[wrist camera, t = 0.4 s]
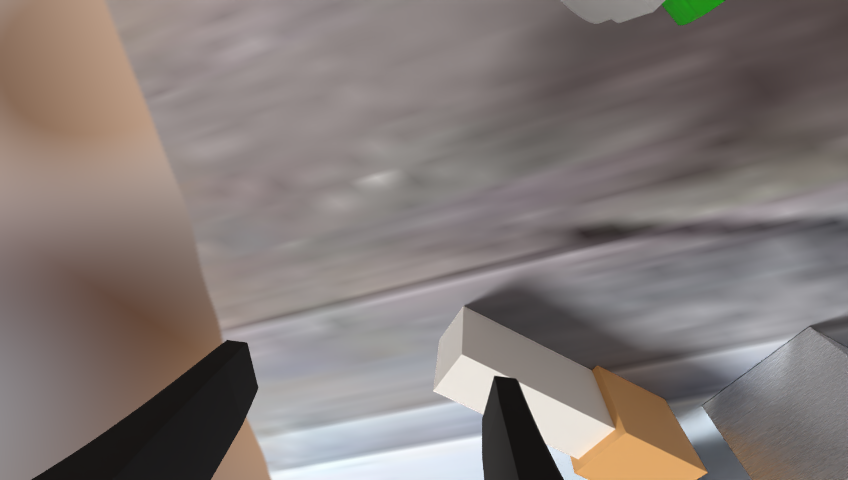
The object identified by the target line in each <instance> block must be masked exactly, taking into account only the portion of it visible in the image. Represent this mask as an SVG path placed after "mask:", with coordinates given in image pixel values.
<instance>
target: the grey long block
mask: <svg viewBox="0 0 848 480" xmlns="http://www.w3.org/2000/svg"><path fill="white" fill-rule="evenodd" d="M702 407H703V409H704V410H705V411H706V413H707V414H708V416H709V417H710V419H711V420H712V422H713V423H714V425H715V426H716V428H717V429H718V431H719V432H720V433H721V435H722V436H723V438H724V439H725V441H726V442H727V444H728V445H729V447H730V448H731V450H732V451H733V452H734V454H735V455H736V457H737V458H738V460H739V461H740V463H741V464H742V466H743V467H744V469H745V470H746V472H747V473H748V474H749V476H750V477H751V479H752V480H848V348H847V347H845V346H843V345H841V344H840V343H838V342H836V341H834V340H832V339H831V338H829V337H827V336H825V335H823V334H822V333H820V332H818V331H816V330H814V329H813V328H811V327H808V328H807V329H806V330H804V331H803V332H801V333H800V334H799V335H797V336H796V337H795V338H793V339H792V340H791V341H789V342H788V343H787V344H785V345H784V346H782V347H781V348H780V349H778V350H777V351H776V352H774V353H773V354H772V355H770V356H769V357H768V358H766V359H765V360H763V361H762V362H761V363H759V364H758V365H757V366H755V367H754V368H753V369H751V370H750V371H749V372H747V373H746V374H744V375H743V376H742V377H740V378H739V379H738V380H736V381H735V382H734V383H732V384H731V385H730V386H728V387H727V388H725V389H724V390H723V391H721V392H720V393H719V394H717V395H716V396H715V397H713V398H712V399H710V400H709V401H708V402H706V403H705V404H704V405H702Z"/></svg>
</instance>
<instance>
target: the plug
mask: <svg viewBox="0 0 848 480" xmlns="http://www.w3.org/2000/svg"><path fill="white" fill-rule="evenodd" d="M494 376H501V377H509V378H516V379H517V380H518V381H519V384H520V386H521V389H522V392H523V394H524V397H525V399H526V402H527V404H528V406H529V409H530V411H531V413H532V416H533V418H534V420H535V422H536V425H537V427H538V429H539V431H540V433H541V435H542V437H543V440H544V442H545V444H547V445H549V446H551V447H553V448H555V449H557V450H559V451H561V452H563V453H566V454H568V455H570V457H571V461H572V465H573V469H574V473H575V474H577V475H580V476H582V477H584V478H586V479H588V480H697V479H698V478H700V477H702V476H703V475H705V474H706V473H708V472H707V470H706V468H705V467H704V465H703V463H702V462H701V460H700V458H699V457H698V455H697V453H696V451H695V450H694V448H693V446H692V445H691V443H690V441H689V440H688V438H687V436H686V434H685V433H684V431H683V429H682V428H681V426H680V424H679V422H678V421H677V419H676V417H675V416H674V414H673V412H672V411H671V409H670V407H669V405H668V404H667V402H666V400H665V399H663V398H661V397H659V396H657V395H655V394H653V393H651V392H649V391H647V390H645V389H643V388H641V387H639V386H637V385H635V384H633V383H631V382H629V381H627V380H625V379H623V378H622V377H620V376H618V375H616V374H614V373H612V372H610V371H608V370H606V369H604V368H602V367H600V366H598V365H597V366H596V367H595V368H594V369H593V370H590V369H588V368H586V367H584V366H582V365H580V364H578V363H576V362H574V361H572V360H570V359H568V358H566V357H564V356H562V355H560V354H558V353H556V352H554V351H552V350H550V349H548V348H546V347H544V346H542V345H540V344H538V343H536V342H534V341H532V340H530V339H528V338H526V337H524V336H522V335H520V334H518V333H516V332H514V331H513V330H511V329H509V328H507V327H505V326H503V325H501V324H499V323H497V322H495V321H493V320H491V319H489V318H487V317H485V316H483V315H481V314H479V313H477V312H475V311H473V310H471V309H469V308H467V307H465V306H463V307H462V309H461V310H460V311H459V313H458V314H457V316H456V317H455V319H454V320H453V321H452V323H451V324H450V326H449V327H448V328H447V330H446V331H445V333H444V334H443V335H442V337H441V338H440V340H439V348H438V356H437V364H436V373H435V381H434V389H433V391H434V392H436V393H438V394H441V395H443V396H445V397H447V398H449V399H451V400H453V401H455V402H457V403H460V404H462V405H464V406H466V407H468V408H470V409H472V410H474V411H477V412H479V413H481V414H483V415H484V411H485V407H486V404H487V400H488V396H489V393H490V389H491V386H492V382H493V378H494Z"/></svg>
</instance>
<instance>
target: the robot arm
mask: <svg viewBox="0 0 848 480" xmlns="http://www.w3.org/2000/svg"><path fill="white" fill-rule="evenodd" d="M257 390H258V385H257V381H256V377H255V373H254V369H253V364H252V360H251V356H250V352H249V348H248V344H247V343H245V342H238V341H230V340H227V341H225V342H224V343H223V344H221V345H220V346H219V347H217V348H216V349H215V350H213V351H212V352H211V353H210V354H208V355H207V356H206V357H204V358H203V359H202V360H201V361H199V362H198V363H197V364H196V365H194V366H193V367H192V368H191V369H189V370H188V371H187V372H185V373H184V374H183V375H181V376H180V377H179V378H178V379H176V380H175V381H174V382H172V383H171V384H170V385H169V386H167V387H166V388H165V389H163V390H162V391H161V392H159V393H158V394H157V395H155V396H154V397H153V398H152V399H150V400H149V401H147V402H146V403H145V404H143V405H142V406H141V407H139V408H138V409H137V410H135V411H134V412H132V413H131V414H130V415H128V416H127V417H126V418H124V419H123V420H121V421H120V422H118V423H117V424H116V425H114V426H113V427H111V428H110V429H109V430H107V431H106V432H104V433H103V434H101V435H100V436H99V437H97V438H96V439H94V440H93V441H91V442H90V443H88V444H87V445H85V446H84V447H82V448H81V449H79V450H78V451H76V452H75V453H73V454H72V455H70V456H68V457H67V458H65V459H64V460H62V461H61V462H59V463H57V464H56V465H54V466H53V467H51V468H50V469H48V470H46V471H45V472H43V473H42V474H40V475H38V476H37V477H35V478H33V479H32V480H211V478H212V477H213V475H214V473H215V472H216V470H217V468H218V466H219V465H220V463H221V461H222V459H223V458H224V456H225V454H226V452H227V451H228V449H229V447H230V445H231V444H232V442H233V440H234V438H235V437H236V435H237V433H238V431H239V430H240V428H241V426H242V424H243V422H244V420H245V418H246V415H247V413H248V411H249V409H250V407H251V404H252V402H253V399H254V397H255V395H256V392H257ZM482 460H483V470H484V480H564V479H563V477H562V475H561V473H560V472H559V470H558V468H557V466H556V464H555V462H554V460H553V458H552V456H551V454H550V452H549V450H548V448H547V446H546V444H545V442H544V440H543V437H542V435H541V433H540V431H539V429H538V427H537V425H536V422H535V420H534V418H533V416H532V413H531V411H530V409H529V406H528V404H527V402H526V399H525V397H524V394H523V392H522V389H521V386H520V384H519V381H518V380H517V379H516V378H509V377H501V376H494V378H493V382H492V386H491V389H490V393H489V396H488V400H487V404H486V407H485V411H484V415H483V418H482Z"/></svg>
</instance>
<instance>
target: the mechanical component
mask: <svg viewBox="0 0 848 480" xmlns="http://www.w3.org/2000/svg"><path fill="white" fill-rule="evenodd" d="M560 1H561V2H562V3H563V4H564V5H565V6H567V7H568V8H569V9H570V10H571V11H572V12H574V13H575V14H576V15H578V16H579V17H581V18H583V19H584V20H586V21H588V22H591V23H595V24H598V23H601V22H604V21H607V20H610V19H612V20H613V21H615V22H617V23H621V22H624V21H627V20H630V19H633V18H636V17H639V16H643V15H646V14H649V13H652V12H654V11H655V10H656V9H657V8H658V7H659V6H660V5H661V4H662V6H663V7H664V8H665V9H666V11H667V12H668V13H669V14H670V15H671V17H672V18H673V19H674V20H675V22H676V23H677V24H678V25H685V24H688V23H690V22H692V21H694V20H696V19H698V18H700V17H701V16H703V15H705V14H706V13H708V12H709V11H711V10H712V9H714V8H715V7H717V6H718V5H719V4H721V3H722V2H724V1H725V0H560Z"/></svg>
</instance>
